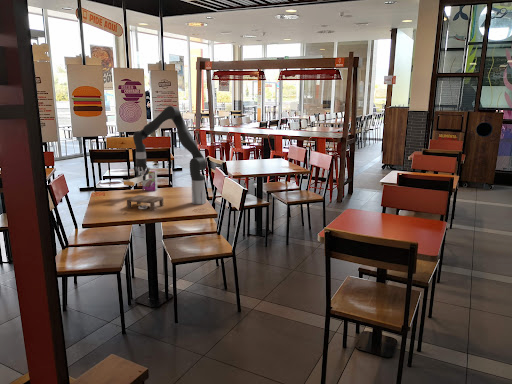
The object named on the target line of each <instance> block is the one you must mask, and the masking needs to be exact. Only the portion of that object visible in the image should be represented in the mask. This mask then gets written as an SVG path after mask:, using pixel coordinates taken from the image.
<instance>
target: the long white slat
mask: <svg viewBox="0 0 512 384" xmlns="http://www.w3.org/2000/svg"><path fill="white" fill-rule="evenodd" d="M141 175H142V174H141ZM147 179H149V174H148V175H146V180H147ZM142 181H143V175H142V176H139V175H138V176H136V177H134V178H130V179H127V181H125V180H124V181H123V185H124V186H132V187H133V186H135V184H138V183H142Z"/></svg>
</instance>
